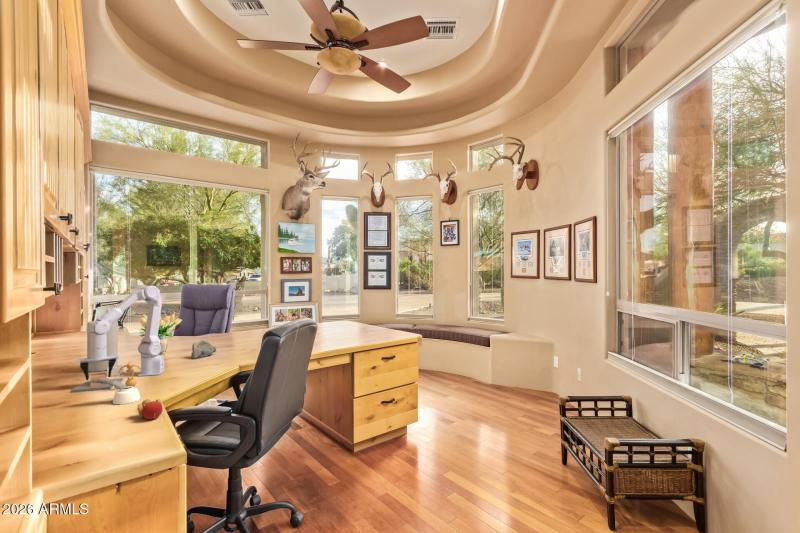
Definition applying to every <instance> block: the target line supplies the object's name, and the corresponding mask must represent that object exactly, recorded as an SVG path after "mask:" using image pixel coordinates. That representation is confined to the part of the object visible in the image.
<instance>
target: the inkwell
mask: <svg viewBox="0 0 800 533" xmlns="http://www.w3.org/2000/svg"><path fill="white" fill-rule="evenodd" d="M113 379H114V378H110V377H106V378H97V379H93V380H87V381H88V382H86V381H85V382H86V383H85V382H84V383H85V384H87V383H101V384H109V385H110V386H114V387H113V388H115V389H117V391H115V393H114V396H113V399H112V404H113V405H115V404H121V405H127V403H129V404H133V403H136V402H138V401H140V400H141V398H142V397H141V394H140V392H139V389H138V388H137V387H135V386H134V387H133V386H128V387H127V386H126V385H125V384H124V383H123V382H122V381H121V382H119V381H117V380H113ZM118 389H119V390H118ZM135 401H136V402H135ZM132 402H133V403H132Z"/></svg>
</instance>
